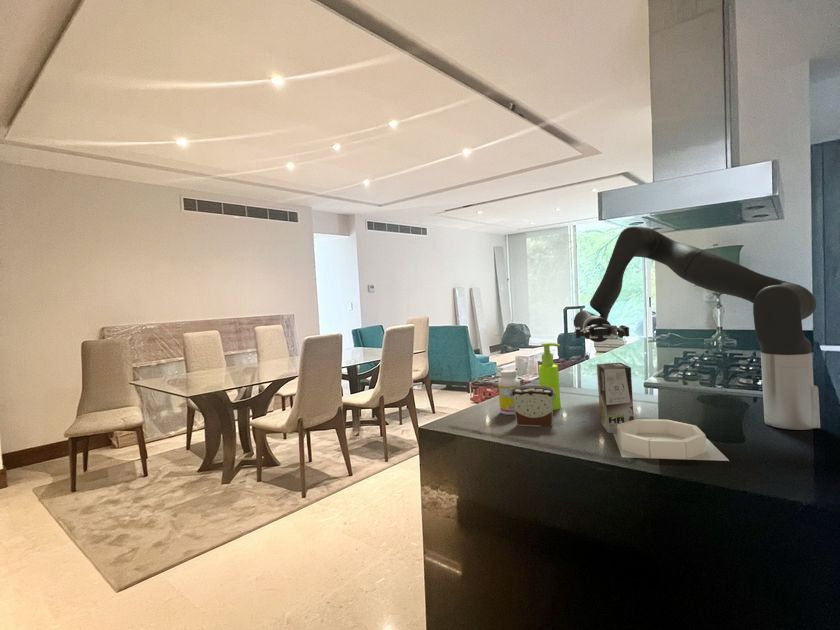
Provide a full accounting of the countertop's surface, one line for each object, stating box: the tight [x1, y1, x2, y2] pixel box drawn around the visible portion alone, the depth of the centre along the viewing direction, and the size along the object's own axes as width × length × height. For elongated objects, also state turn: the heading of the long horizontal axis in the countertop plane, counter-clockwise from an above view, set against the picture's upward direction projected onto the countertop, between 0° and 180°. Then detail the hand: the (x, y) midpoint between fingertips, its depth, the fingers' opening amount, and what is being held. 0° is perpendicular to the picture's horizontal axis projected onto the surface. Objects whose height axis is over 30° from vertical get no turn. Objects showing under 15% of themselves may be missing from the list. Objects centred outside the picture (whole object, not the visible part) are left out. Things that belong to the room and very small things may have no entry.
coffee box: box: [596, 362, 635, 434], centre depth 110 cm, size 9×6×16 cm
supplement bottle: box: [497, 369, 521, 416], centre depth 133 cm, size 7×7×13 cm
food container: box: [510, 384, 556, 428], centre depth 120 cm, size 12×6×10 cm, turn 65°
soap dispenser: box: [537, 342, 562, 411], centre depth 134 cm, size 6×7×20 cm
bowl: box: [617, 418, 707, 460], centre depth 95 cm, size 16×16×4 cm
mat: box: [612, 433, 730, 462], centre depth 94 cm, size 19×16×1 cm
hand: (604, 334), depth 119 cm, fingers open, 8 cm apart
